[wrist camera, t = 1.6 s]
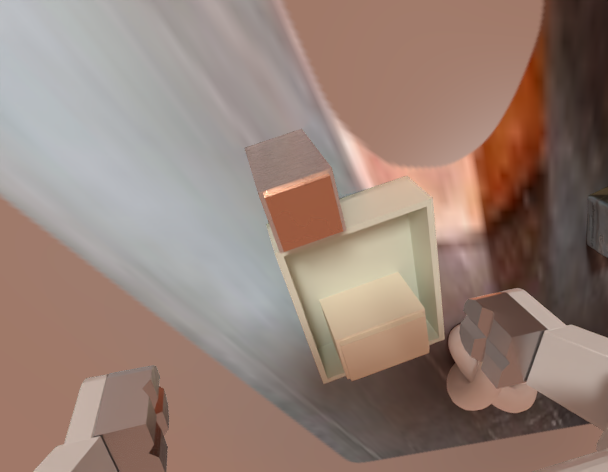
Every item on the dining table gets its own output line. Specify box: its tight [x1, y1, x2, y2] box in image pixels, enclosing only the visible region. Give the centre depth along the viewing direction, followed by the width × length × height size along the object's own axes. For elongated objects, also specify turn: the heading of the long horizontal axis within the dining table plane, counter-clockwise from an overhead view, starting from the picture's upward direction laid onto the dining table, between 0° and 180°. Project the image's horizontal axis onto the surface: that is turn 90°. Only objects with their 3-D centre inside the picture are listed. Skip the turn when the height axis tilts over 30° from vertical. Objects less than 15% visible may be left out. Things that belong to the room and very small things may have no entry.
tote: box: [266, 176, 445, 384], centre depth 40 cm, size 14×18×5 cm
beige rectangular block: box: [319, 272, 430, 381], centre depth 42 cm, size 9×6×7 cm, turn 105°
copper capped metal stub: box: [245, 129, 347, 254], centre depth 31 cm, size 5×5×9 cm
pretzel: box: [447, 324, 537, 413], centre depth 49 cm, size 11×12×9 cm
